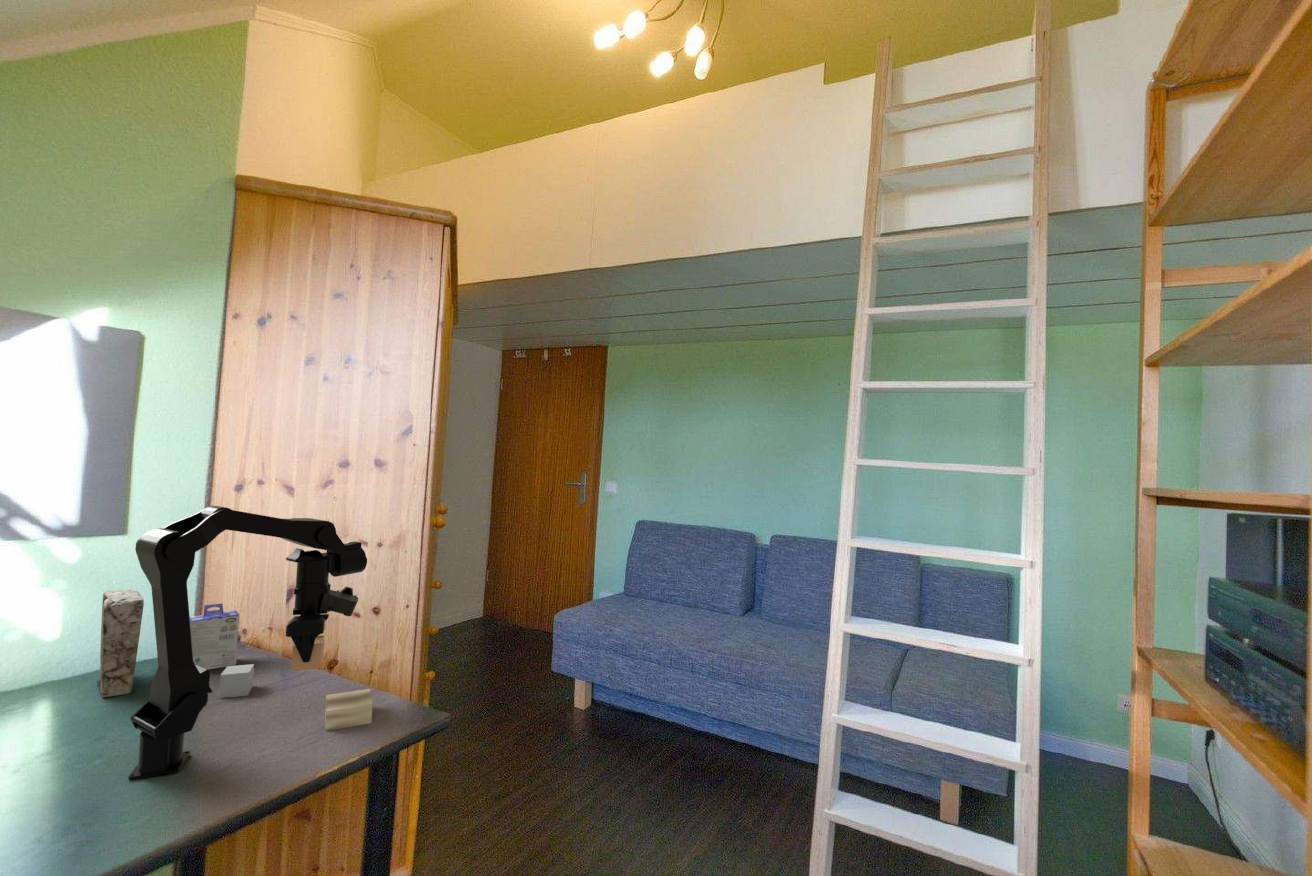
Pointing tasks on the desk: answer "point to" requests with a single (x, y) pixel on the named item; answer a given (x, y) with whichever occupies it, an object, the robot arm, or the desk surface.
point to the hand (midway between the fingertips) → (308, 657)
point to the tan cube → (314, 660)
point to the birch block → (348, 709)
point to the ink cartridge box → (215, 637)
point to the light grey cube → (236, 681)
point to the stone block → (119, 640)
